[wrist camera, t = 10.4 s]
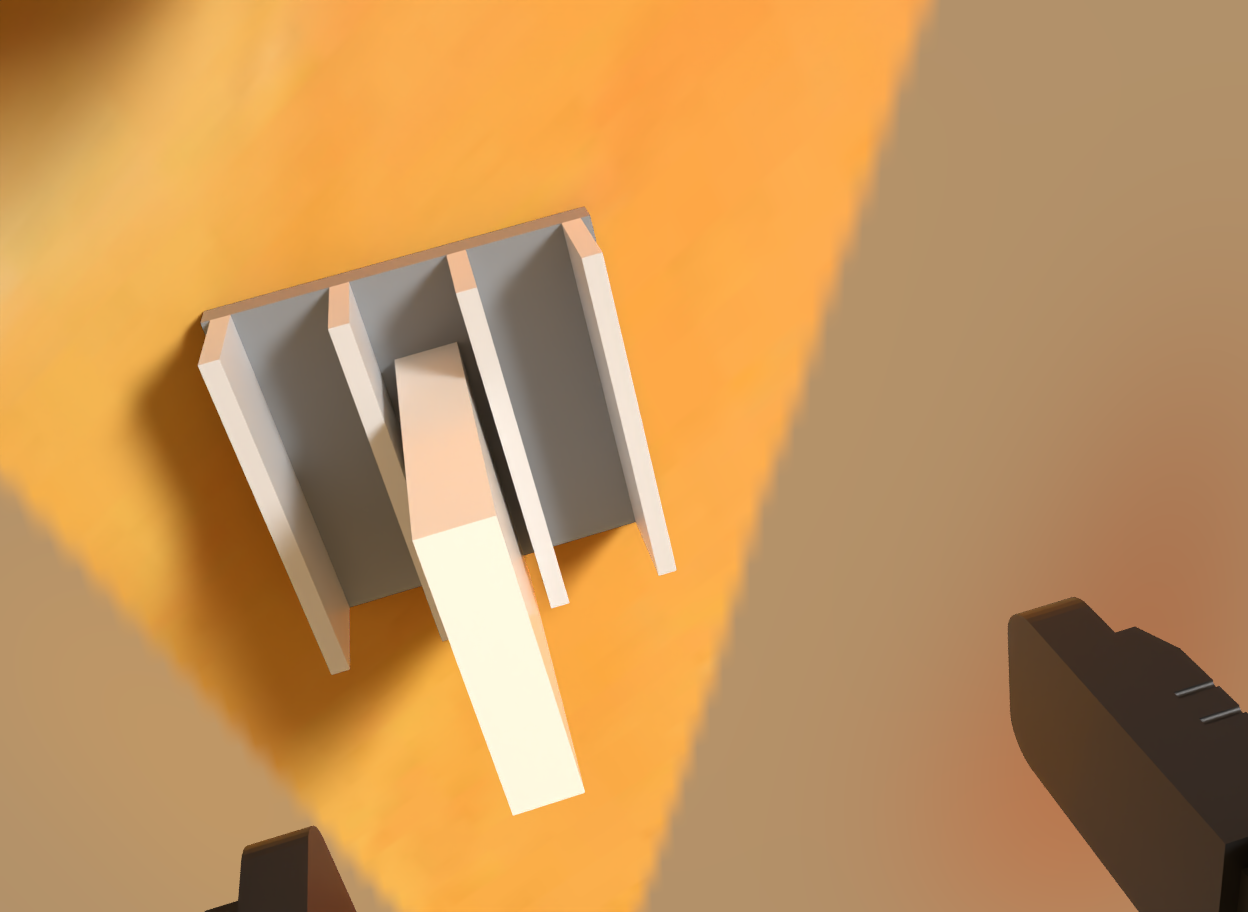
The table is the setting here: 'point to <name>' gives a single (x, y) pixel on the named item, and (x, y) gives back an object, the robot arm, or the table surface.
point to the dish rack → (370, 418)
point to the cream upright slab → (482, 580)
